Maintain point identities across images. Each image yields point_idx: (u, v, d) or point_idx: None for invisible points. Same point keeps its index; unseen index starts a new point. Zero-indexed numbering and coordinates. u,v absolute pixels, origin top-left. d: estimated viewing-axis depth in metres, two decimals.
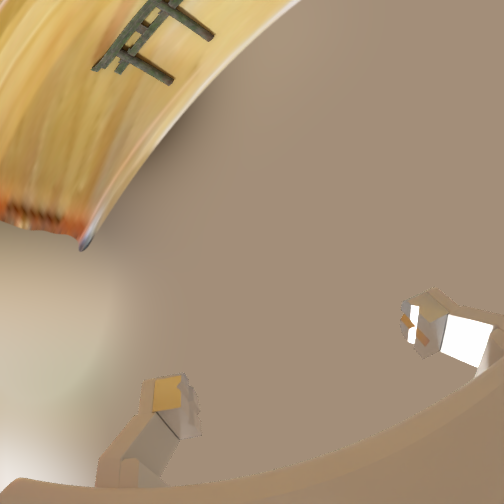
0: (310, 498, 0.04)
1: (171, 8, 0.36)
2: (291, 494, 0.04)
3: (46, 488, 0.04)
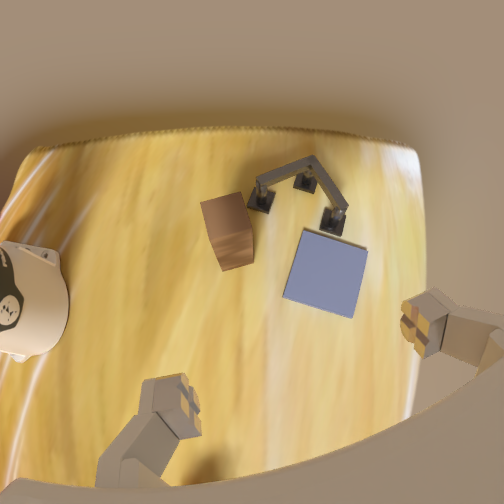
0: (310, 498, 0.04)
1: None
2: (291, 494, 0.04)
3: (46, 487, 0.04)
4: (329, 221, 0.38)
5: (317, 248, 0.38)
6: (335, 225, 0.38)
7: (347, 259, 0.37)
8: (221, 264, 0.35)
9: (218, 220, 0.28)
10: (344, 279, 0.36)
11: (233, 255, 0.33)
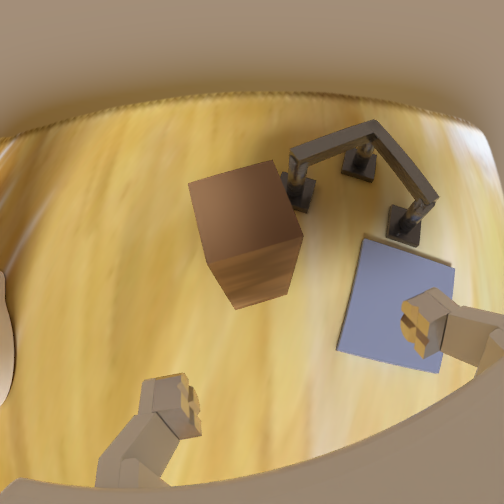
0: (310, 498, 0.04)
1: None
2: (291, 494, 0.04)
3: (46, 487, 0.04)
4: (402, 224, 0.23)
5: (387, 267, 0.22)
6: (410, 230, 0.23)
7: (430, 282, 0.21)
8: (233, 301, 0.19)
9: (228, 218, 0.12)
10: None
11: (255, 287, 0.18)
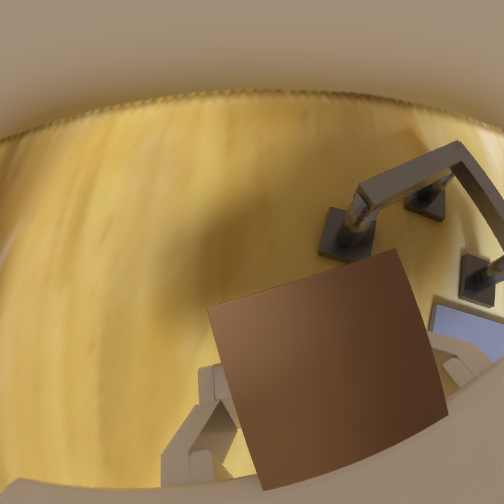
0: (310, 498, 0.04)
1: None
2: (291, 494, 0.04)
3: (46, 487, 0.04)
4: (480, 282, 0.15)
5: None
6: (486, 288, 0.15)
7: (502, 353, 0.14)
8: None
9: (310, 405, 0.05)
10: None
11: None
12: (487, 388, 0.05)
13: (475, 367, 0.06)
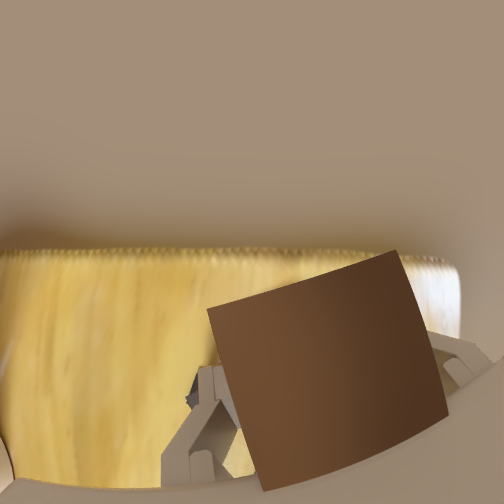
0: (310, 498, 0.04)
1: None
2: (291, 494, 0.04)
3: (46, 487, 0.04)
4: None
5: None
6: None
7: None
8: None
9: (311, 407, 0.05)
10: None
11: None
12: (487, 388, 0.05)
13: (475, 367, 0.06)
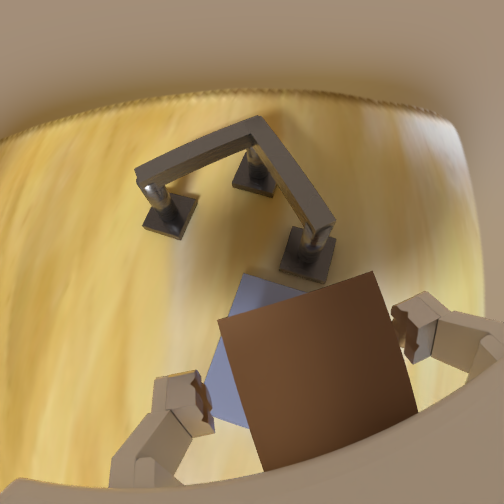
0: (310, 498, 0.04)
1: None
2: (291, 494, 0.04)
3: (46, 487, 0.04)
4: (299, 254, 0.18)
5: None
6: (312, 261, 0.18)
7: None
8: None
9: (300, 398, 0.06)
10: None
11: None
12: (487, 388, 0.05)
13: None
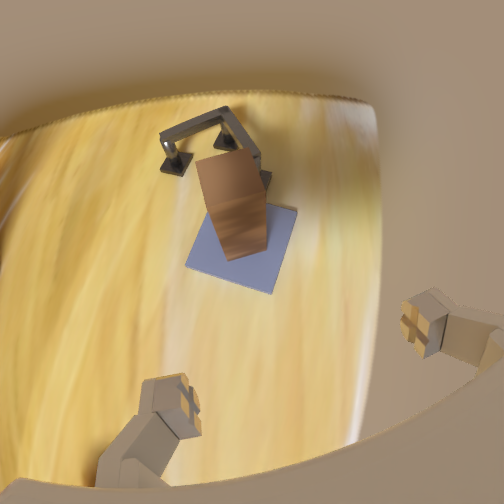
0: (310, 498, 0.04)
1: None
2: (291, 494, 0.04)
3: (46, 487, 0.04)
4: None
5: None
6: None
7: (269, 221, 0.31)
8: (225, 250, 0.27)
9: (220, 181, 0.20)
10: None
11: (240, 236, 0.25)
12: (487, 388, 0.05)
13: None
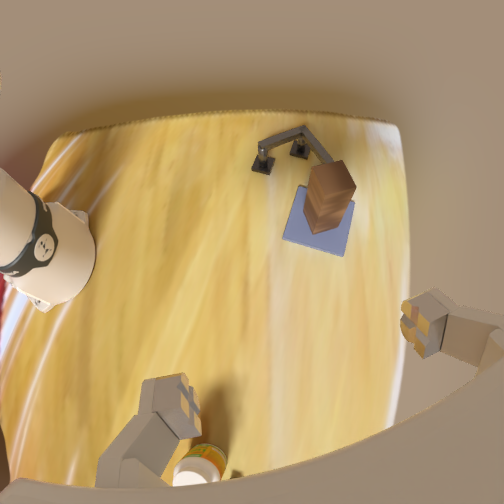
0: (310, 498, 0.04)
1: None
2: (291, 494, 0.04)
3: (46, 487, 0.04)
4: None
5: None
6: None
7: None
8: (316, 225, 0.40)
9: (330, 180, 0.33)
10: None
11: (330, 216, 0.38)
12: (487, 388, 0.05)
13: None
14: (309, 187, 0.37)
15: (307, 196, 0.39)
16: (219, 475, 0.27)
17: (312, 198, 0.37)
